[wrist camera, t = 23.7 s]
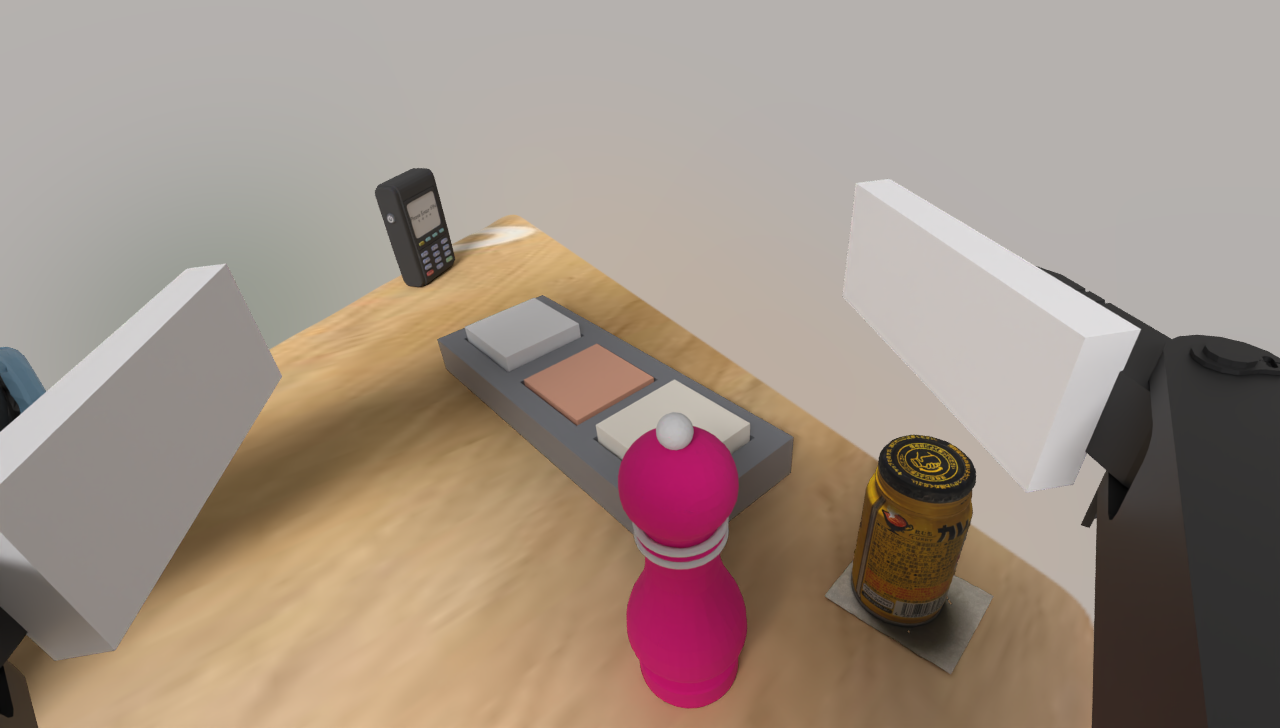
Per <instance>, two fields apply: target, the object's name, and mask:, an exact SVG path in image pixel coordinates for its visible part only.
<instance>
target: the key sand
mask: <svg viewBox="0 0 1280 728" xmlns="http://www.w3.org/2000/svg"><path fill="white" fill-rule="evenodd" d="M672 412H676V413H682V414H683V415H685V416H687V417H688V418H689V419H690V421H691V423H692V425H693V426H695V427H699V428H701V429H704V430H706V431H708V432H710V433H711V434H713V435H714V436H716V437H717V438H718V439H719V440H720V441H721V442H722V443H723V444H725V446H726V447H727V448H728V450H729V451H730V453H731V454H732V453H734V452H735V451H737V450H738V449H739V448H741V447H742V446H744V445H745V444H746V443H748V442H749V441H750V423H749V422H747V421H745V420H744V419H742V418H740V417H738V416H737V415H735V414H733V413H731V412H730V411H728V410H726V409H725V408H723V407H721V406H719V405H718V404H716V403H714V402H713V401H711V400H709V399H707V398H706V397H704V396H702V395H701V394H699V393H697V392H695V391H694V390H692V389H690V388H688V387H687V386H685V385H683V384H682V383H680V382H678V381H676V380H675V379H674V380H672V381H671V382H669V383H667V384H666V385H664V386H662V387H660V388H659V389H657V390H655V391H653V392H652V393H650V394H648V395H647V396H645V397H643V398H641V399H640V400H638V401H636V402H634V403H633V404H631V405H629V406H628V407H626V408H624V409H622V410H621V411H619V412H617V413H615V414H614V415H612V416H610V417H608V418H607V419H605V420H603V421H602V422H600V423H598V424H596V430H597V436H598V443H599V444H601V445H602V446H603V447H604V448H606V449H607V450H608V451H610V452H611V453H612V454H613V455H615V456H616V457H617V458H619V459H620V460H621V461H622V459H623V457H624V455H625V453H626V452H627V450H628V449H629V448H630V446H631V445H632V444H633V442H635V441H636V440H637V439H638V438H639V437H640V436H642V435H643V434H645V433H646V432H648V431H650V430H652V429H655V428H656V427H657V424H658V422H659V420H660V419H661V418H662V417H663V416H664V415H666V414H669V413H672Z"/></svg>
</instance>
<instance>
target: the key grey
mask: <svg viewBox="0 0 1280 728" xmlns="http://www.w3.org/2000/svg"><path fill="white" fill-rule="evenodd" d="M465 330H466V334H467V338H468V341H469V343H470V344H472V345H473V346H474V347H475V348H477V349H478V350H479V351H481V352H482V353H483V354H484V355H486V356H487V357H488V358H490V359H491V360H492V361H493V362H495V363H496V364H497V365H499V366H500V367H501V368H503V369H504V370H505V371H506V372H510V371H512V370H514V369H516V368H518V367H520V366H522V365H524V364H526V363H528V362H530V361H533V360H535V359H537V358H539V357H541V356H543V355H545V354H547V353H549V352H551V351H553V350H556V349H558V348H560V347H562V346H564V345H566V344H568V343H570V342H572V341H574V340H576V339H578V338H581V335H580V328H579V324H578V323H577V322H575V321H573V320H572V319H570V318H568V317H566V316H565V315H563V314H561V313H560V312H558V311H556V310H554V309H553V308H551V307H549V306H547V305H546V304H544V303H542V302H541V301H539V300H537V299H535V298H532V299H530V300H528V301H525V302H523V303H520V304H518V305H516V306H513V307H511V308H509V309H506V310H504V311H501V312H499V313H497V314H494V315H492V316H489V317H487V318H485V319H482V320H480V321H478V322H475V323H473V324H470V325H468V326H466V327H465Z"/></svg>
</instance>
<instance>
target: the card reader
mask: <svg viewBox="0 0 1280 728" xmlns="http://www.w3.org/2000/svg"><path fill="white" fill-rule="evenodd" d="M375 196H376V199H377V202H378V205H379V208H380V211H381V214H382V217H383V220H384V223H385V226H386V230H387V233H388V236H389V239H390V242H391V245H392V248H393V251H394V254H395V257H396V260H397V263H398V265H399V268H400V271H401V274H402V277H403V280H404V282H405V283H406V284H407V285H408V286H416V287H420V286H425V285H426V284H428V283H429V282H430V281H432V280H433V279H434V278H436V277H437V276H439V275H440V274H441V273H443V272H444V271H445V270H447V269H448V268H449V267H451V266H452V265H453V263H454V260H455V256H454V252H453V248H452V244H451V240H450V236H449V232H448V228H447V224H446V221H445V217H444V213H443V209H442V205H441V201H440V197H439V194H438V190H437V186H436V182H435V179H434V176H433V173H432V172H431V170H429V169H422V168H417V169H415V168H413V169H410V170H409V171H406V172H404V173H402V174H400V175H398V176H396V177H394V178H392V179H390V180H388V181H386V182H384V183H382V184H380V185H378V186H377V188H376V190H375Z"/></svg>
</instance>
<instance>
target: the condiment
mask: <svg viewBox="0 0 1280 728" xmlns="http://www.w3.org/2000/svg"><path fill="white" fill-rule="evenodd" d="M975 483H976V471H975V468H974V466H973V463H972V461H971V460H970V459H969V458H968V457H967V456H966V455H965V453H963V452H962V451H961V450H959V449H958V448H957V447H956V446H953V445H952V444H950V443H948V442H946V441H943V440H940V439H937V438H933V437H929V436H922V435H909V436H903V437H899V438H896V439H894V440H892V441H891V442H890V443H889V444H888V445H886V446H885V447H884V448H883V450H882V451H881V453H880V456H879V461H878V466H877V468H876V471H875V473H874V474H873V476H872V477H871V479H870V480H869V483H868V485H867V488H866V493H865V499H864V505H863V511H862V518H861V522H860V528H859V532H858V539H857V545H856V549H855V551H854V559H853V561H852V562H851V563H850V565H849V566H848V567H847V568H846V570H845V571H844V572H843V573H842V575H841V576H840V577H839V578H838V579H837V581H836V582H835V583H834V584H833V586H832V587H831V588H830V589H829V591H828V592H827V593H826V595H825V597H827V598H828V599H830V600H832V601H833V602H834V603H836V604H838V605H839V606H841V607H842V608H844V609H845V610H847V611H848V612H850V613H851V614H854V615H855V616H857V617H858V618H859V619H861V620H862V621H864V622H865V623H867V624H869V625H871V626H872V627H874V628H875V629H877V630H879V631H881V632H883V633H884V634H885V635H887V636H889V637H891V638H893V639H895V640H897V641H898V642H900V643H901V644H902V645H904V646H905V647H907V648H909V649H910V650H912V651H913V652H915V653H916V654H918V655H919V656H921V657H923V658H925V659H927V660H929V661H930V662H932V663H934V664H936V665H937V666H939V667H940V668H942V669H943V670H945V671H946V672H948V673H950V674H951V673H952V672H953V670H954V668H955V666H956V664H957V663H958V661H959V659H960V657H961V655H962V654H963V652H964V650H965V648H966V647H967V645H968V643H969V641H970V639H971V637H972V635H973V633H974V632H975V630H976V628H977V626H978V624H979V622H980V621H981V619H982V617H983V615H984V613H985V611H986V609H987V608H988V606H989V604H990V602H991V600H992V598H993V597H994V596H992V595H991V594H989V593H987V592H985V591H984V590H982V589H980V588H978V587H976V586H973V585H971V584H970V583H968V582H967V581H965V580H963V579H961V578H959V577H956V576H955V575H954V574H955V569H956V566H957V562H958V559H959V557H960V553H961V550H962V547H963V544H964V541H965V540H966V536H967V532H968V528H969V526H970V522H971V518H972V514H973V510H972V503H971V498H972V488H973V487H974V485H975ZM947 597H948V599H947ZM948 600H950V601H951V602H952V604H951V605H950V604H949V602H948ZM908 631H910V633H908Z"/></svg>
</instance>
